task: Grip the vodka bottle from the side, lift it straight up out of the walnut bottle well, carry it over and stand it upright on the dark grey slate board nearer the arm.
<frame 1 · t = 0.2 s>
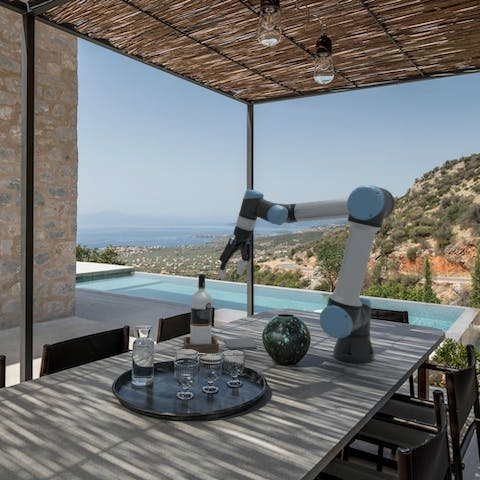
hand: (230, 275, 192), 28 cm above the table, tool tilted 20°, fingers open, 13 cm apart
vodka: (200, 351, 181), resting in bottle well
bottle well: (200, 350, 181), on the table
slate board: (240, 345, 191), on the table
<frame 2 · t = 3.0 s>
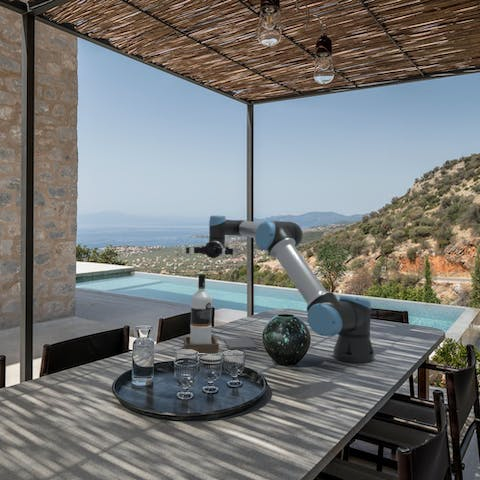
hand: (206, 252, 190), 38 cm above the table, tool horizontal, fingers open, 13 cm apart
nothing on the table moved.
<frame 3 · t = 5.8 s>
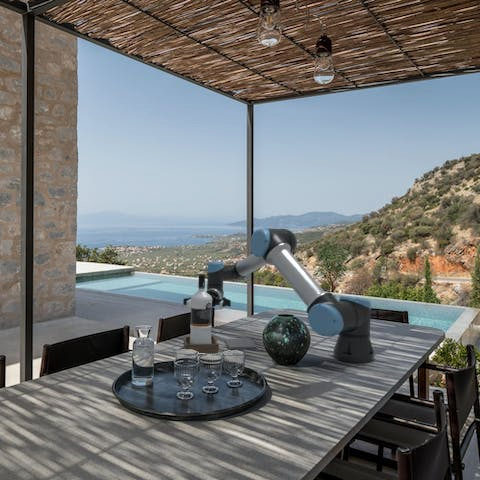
hand: (203, 305, 188), 16 cm above the table, tool horizontal, fingers open, 13 cm apart
nothing on the table moved.
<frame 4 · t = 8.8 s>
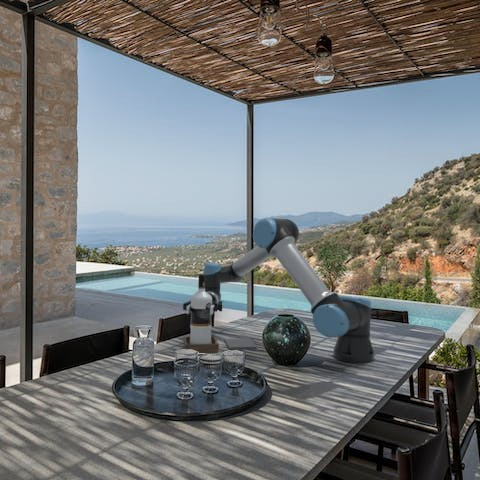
hand: (199, 310, 176), 17 cm above the table, tool horizontal, fingers closed on vodka, 8 cm apart
vodka: (200, 351, 181), resting in bottle well, touching gripper
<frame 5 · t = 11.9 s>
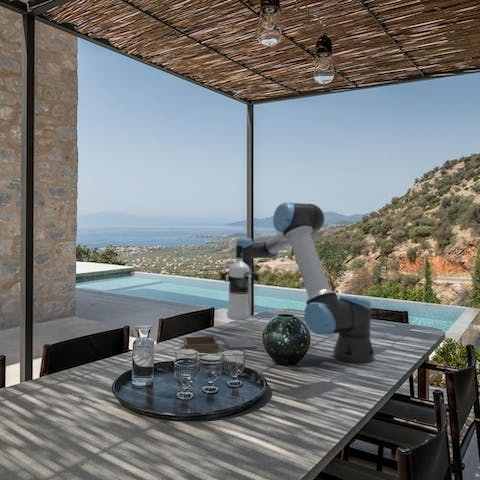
hand: (238, 279, 185), 28 cm above the table, tool horizontal, fingers closed on vodka, 8 cm apart
vodka: (238, 318, 190), point 11 cm above the table, touching gripper
when the fingers open (19 cm above the table, at t = 15.1 s): vodka drops 1 cm, resting on slate board.
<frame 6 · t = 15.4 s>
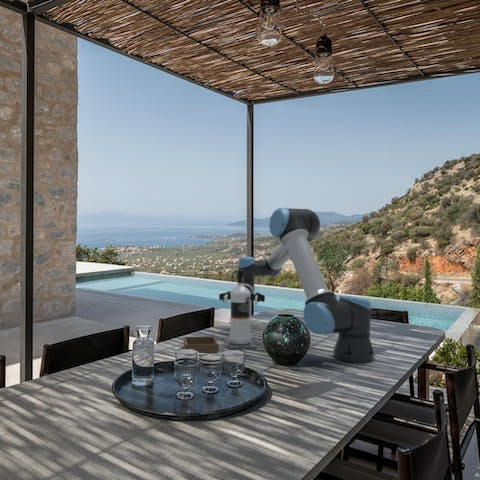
hand: (240, 300, 187), 19 cm above the table, tool horizontal, fingers open, 12 cm apart
vodka: (240, 342, 191), point 1 cm above the table, touching slate board
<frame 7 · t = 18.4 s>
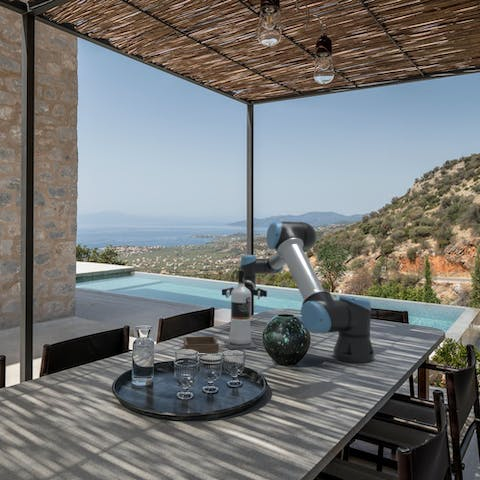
hand: (242, 295, 200), 19 cm above the table, tool horizontal, fingers open, 13 cm apart
nothing on the table moved.
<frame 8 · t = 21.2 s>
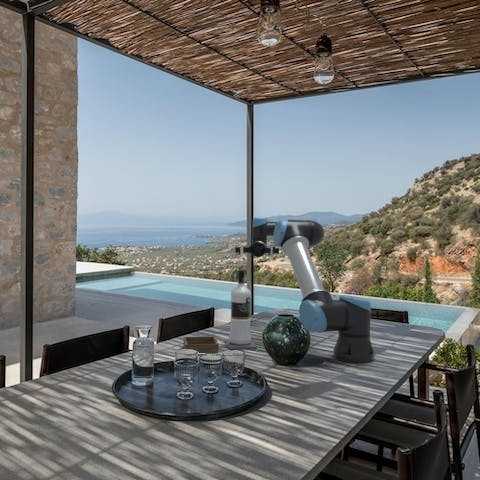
hand: (256, 251, 206), 38 cm above the table, tool horizontal, fingers open, 13 cm apart
nothing on the table moved.
at the end: vodka inside the target area (0.1 cm from its centre), point 0.8 cm above the table; vodka tilted 0°; the gripper is holding nothing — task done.
